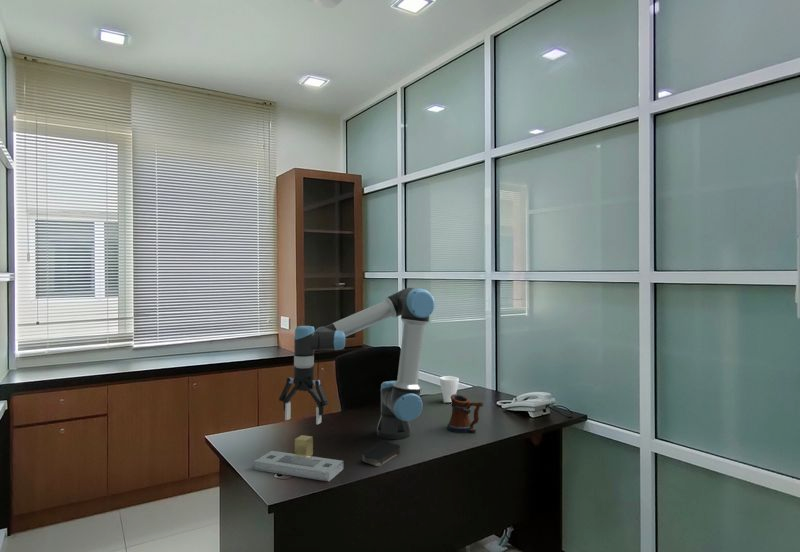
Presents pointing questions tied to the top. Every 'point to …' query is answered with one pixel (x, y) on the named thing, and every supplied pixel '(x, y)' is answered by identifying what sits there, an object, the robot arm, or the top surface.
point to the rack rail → (299, 465)
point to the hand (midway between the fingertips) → (303, 421)
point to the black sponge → (381, 453)
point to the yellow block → (304, 445)
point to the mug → (462, 414)
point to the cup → (448, 387)
